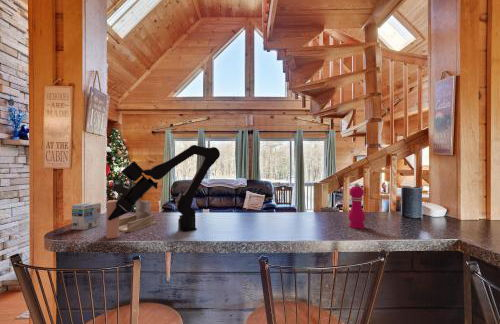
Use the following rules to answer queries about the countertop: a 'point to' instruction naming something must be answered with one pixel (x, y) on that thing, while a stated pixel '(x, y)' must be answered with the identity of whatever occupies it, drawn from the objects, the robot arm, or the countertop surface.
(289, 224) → the countertop surface
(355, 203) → the pepper mill
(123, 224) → the book trough
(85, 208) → the light bulb box
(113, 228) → the salmon pink rectangular block
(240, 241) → the countertop surface
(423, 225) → the countertop surface
